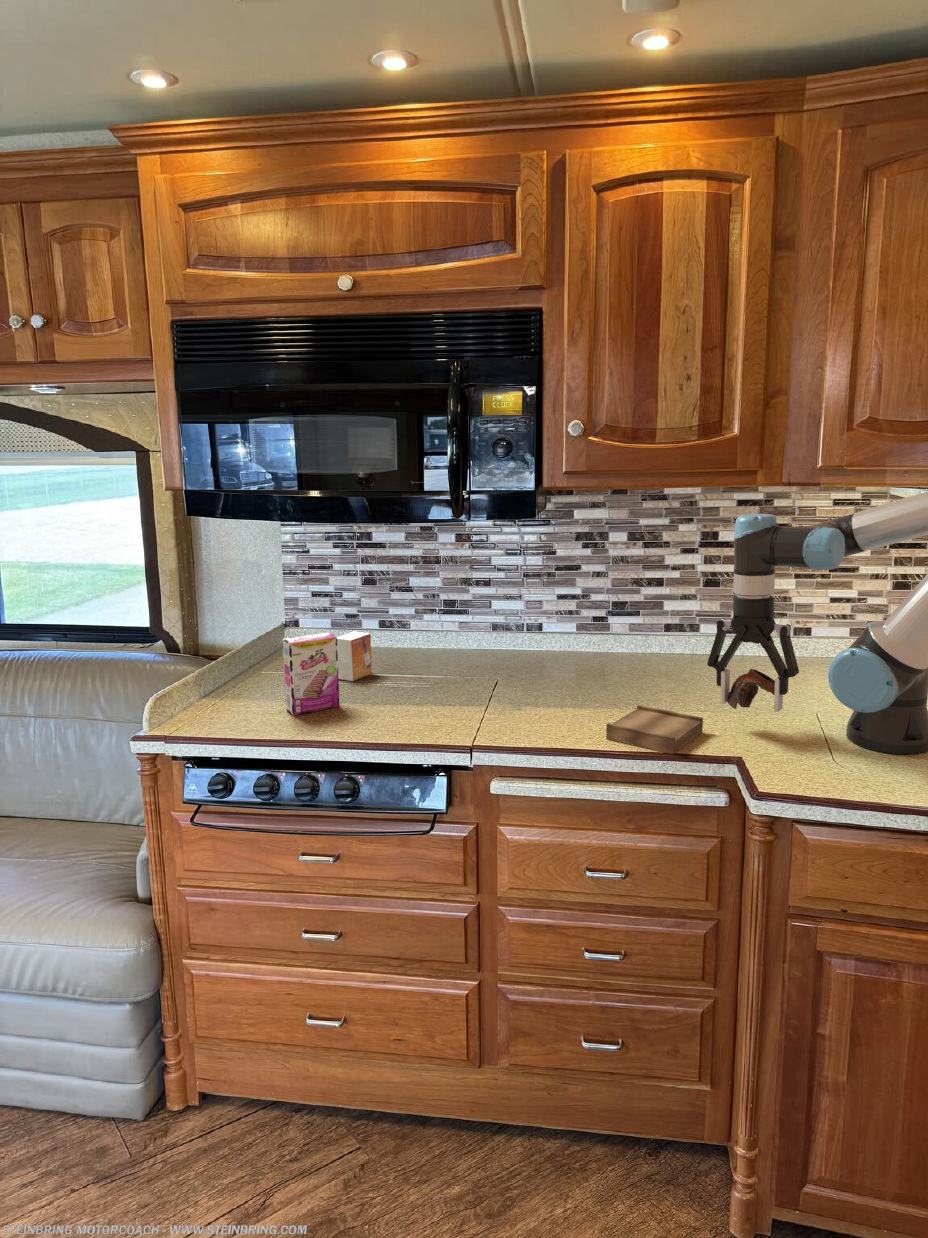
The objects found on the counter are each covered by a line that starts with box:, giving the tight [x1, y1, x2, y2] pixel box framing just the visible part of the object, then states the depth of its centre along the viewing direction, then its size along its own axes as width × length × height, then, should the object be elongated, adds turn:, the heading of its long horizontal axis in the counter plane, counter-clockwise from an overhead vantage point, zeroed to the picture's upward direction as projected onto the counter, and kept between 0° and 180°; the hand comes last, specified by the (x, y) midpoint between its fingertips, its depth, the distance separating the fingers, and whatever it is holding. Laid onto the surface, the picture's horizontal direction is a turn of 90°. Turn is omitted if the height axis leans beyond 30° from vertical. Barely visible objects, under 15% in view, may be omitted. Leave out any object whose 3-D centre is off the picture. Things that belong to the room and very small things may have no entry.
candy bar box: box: [281, 632, 340, 716], centre depth 192 cm, size 11×5×16 cm, turn 121°
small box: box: [336, 630, 373, 682], centre depth 216 cm, size 8×6×10 cm
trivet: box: [605, 704, 704, 755], centre depth 173 cm, size 14×14×3 cm
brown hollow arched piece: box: [726, 668, 775, 710], centre depth 172 cm, size 12×10×8 cm
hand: (751, 705), depth 173 cm, fingers closed on brown hollow arched piece, 10 cm apart
